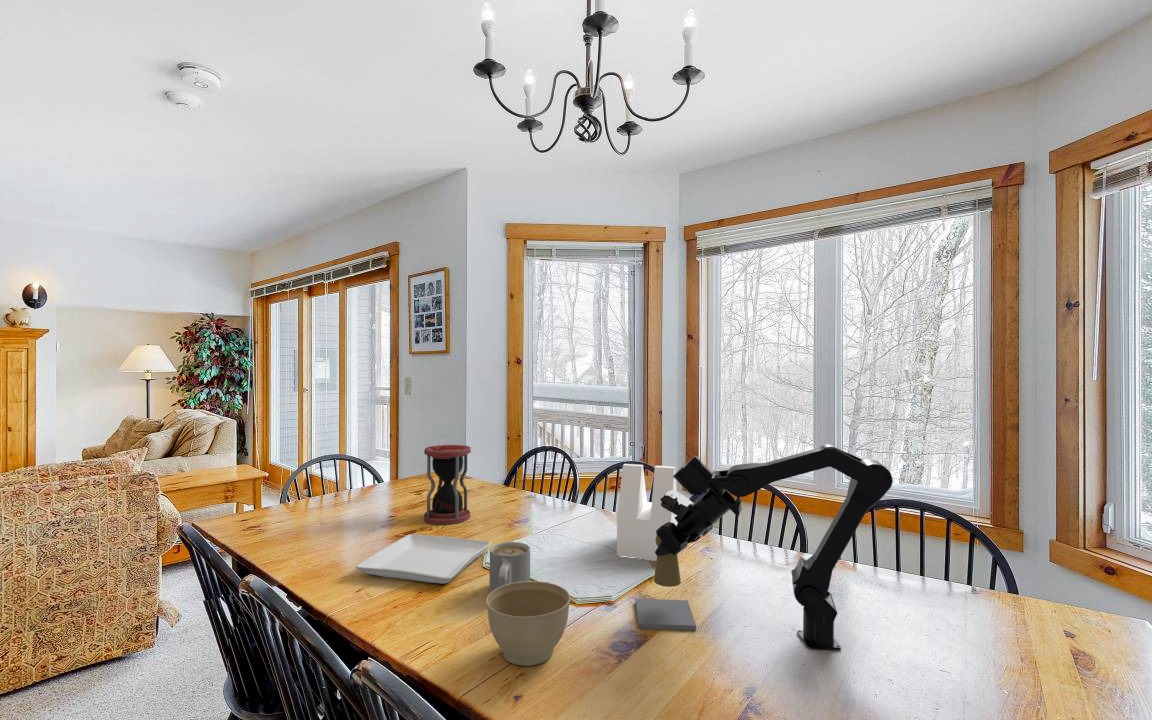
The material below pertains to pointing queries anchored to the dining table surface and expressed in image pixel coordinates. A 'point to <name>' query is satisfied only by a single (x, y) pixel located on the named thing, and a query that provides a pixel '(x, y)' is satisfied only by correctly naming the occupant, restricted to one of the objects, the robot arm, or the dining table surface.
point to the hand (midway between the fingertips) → (661, 550)
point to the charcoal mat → (664, 614)
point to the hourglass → (447, 484)
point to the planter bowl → (528, 620)
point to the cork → (666, 569)
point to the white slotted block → (642, 511)
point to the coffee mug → (509, 564)
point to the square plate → (424, 558)
